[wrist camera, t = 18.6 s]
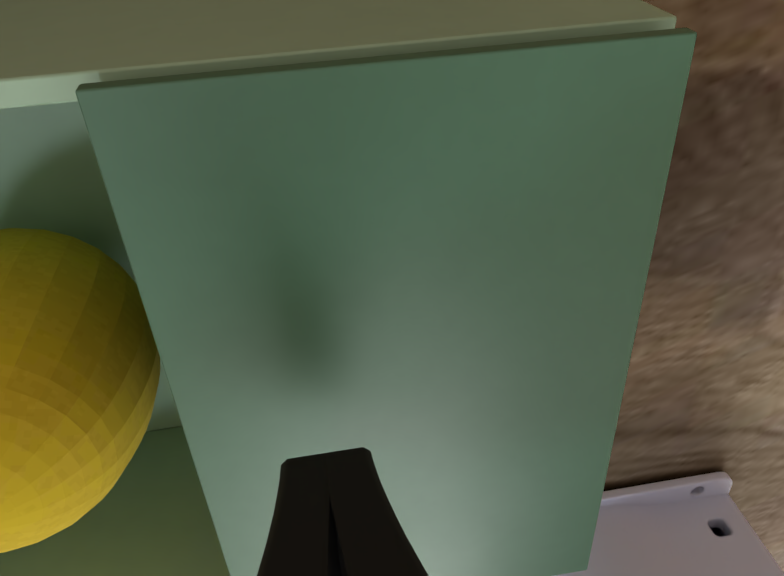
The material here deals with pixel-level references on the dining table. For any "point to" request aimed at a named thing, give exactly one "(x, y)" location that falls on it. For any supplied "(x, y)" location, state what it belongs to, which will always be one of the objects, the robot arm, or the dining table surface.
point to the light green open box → (96, 217)
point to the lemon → (67, 380)
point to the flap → (402, 276)
